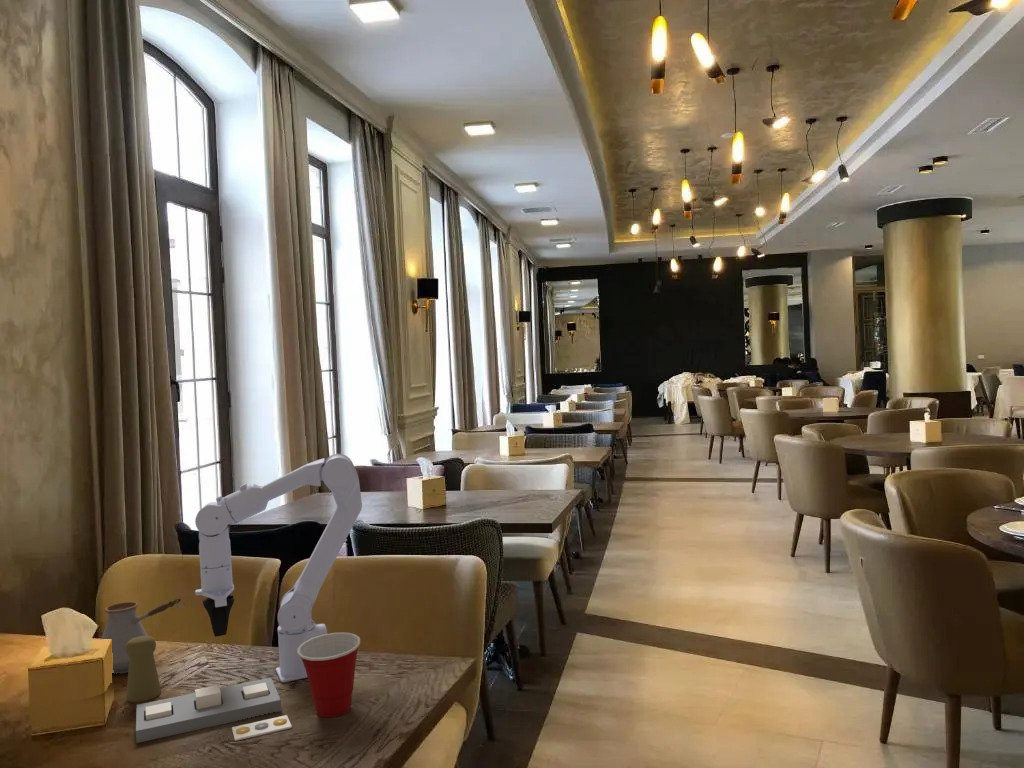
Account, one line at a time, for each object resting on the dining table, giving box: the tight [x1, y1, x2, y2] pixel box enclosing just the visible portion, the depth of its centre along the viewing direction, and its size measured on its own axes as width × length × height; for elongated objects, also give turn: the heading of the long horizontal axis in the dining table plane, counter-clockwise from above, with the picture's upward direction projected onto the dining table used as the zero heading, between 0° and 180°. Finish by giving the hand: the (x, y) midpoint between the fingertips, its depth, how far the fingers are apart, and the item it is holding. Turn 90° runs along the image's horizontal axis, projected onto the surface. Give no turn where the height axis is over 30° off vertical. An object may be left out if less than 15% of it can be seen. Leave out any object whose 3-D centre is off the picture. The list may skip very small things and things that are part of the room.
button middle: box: [194, 684, 221, 709], centre depth 140 cm, size 4×4×2 cm
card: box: [231, 714, 293, 742], centre depth 132 cm, size 9×5×1 cm, turn 115°
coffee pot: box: [100, 598, 185, 675], centre depth 164 cm, size 21×12×15 cm, turn 71°
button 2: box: [243, 683, 269, 700], centre depth 143 cm, size 4×4×2 cm
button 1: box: [146, 702, 172, 720], centre depth 136 cm, size 4×4×2 cm
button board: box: [135, 677, 282, 744], centre depth 140 cm, size 23×12×2 cm, turn 115°
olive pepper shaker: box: [125, 635, 162, 703], centre depth 150 cm, size 6×6×11 cm
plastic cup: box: [297, 632, 361, 718], centre depth 138 cm, size 11×11×12 cm
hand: (220, 634), depth 154 cm, fingers closed
